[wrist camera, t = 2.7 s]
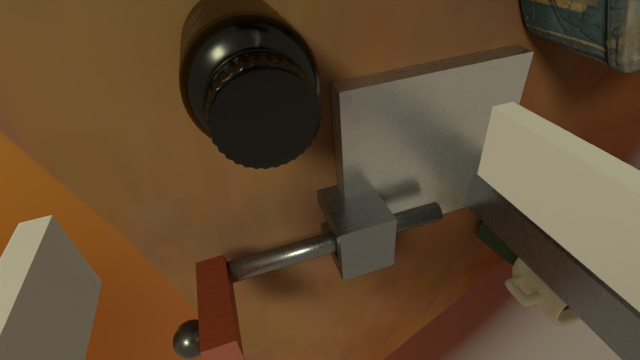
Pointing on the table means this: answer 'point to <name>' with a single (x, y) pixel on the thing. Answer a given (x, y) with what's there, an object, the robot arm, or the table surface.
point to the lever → (219, 275)
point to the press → (446, 176)
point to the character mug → (528, 282)
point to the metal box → (590, 28)
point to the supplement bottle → (249, 82)
